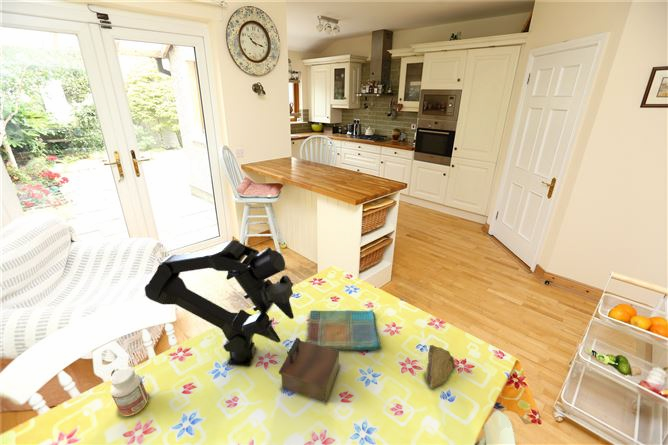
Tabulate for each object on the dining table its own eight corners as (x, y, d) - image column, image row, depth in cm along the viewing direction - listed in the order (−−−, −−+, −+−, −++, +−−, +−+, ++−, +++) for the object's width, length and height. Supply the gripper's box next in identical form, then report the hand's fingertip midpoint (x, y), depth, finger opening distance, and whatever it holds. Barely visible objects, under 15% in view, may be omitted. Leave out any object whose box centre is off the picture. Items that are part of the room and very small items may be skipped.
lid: (278, 373, 77) (277, 359, 75) (296, 341, 87) (295, 327, 85) (326, 388, 73) (326, 373, 71) (339, 352, 83) (339, 338, 81)
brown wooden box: (282, 388, 79) (281, 374, 77) (299, 355, 89) (299, 342, 87) (326, 402, 75) (326, 388, 73) (338, 366, 85) (339, 352, 83)
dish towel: (381, 352, 90) (382, 346, 89) (306, 351, 90) (306, 345, 89) (374, 313, 106) (374, 308, 105) (310, 313, 106) (310, 307, 105)
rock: (450, 349, 89) (419, 347, 88) (465, 346, 81) (432, 343, 80) (456, 390, 83) (423, 388, 82) (472, 391, 76) (436, 388, 75)
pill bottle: (128, 394, 76) (115, 364, 72) (152, 392, 77) (142, 362, 73) (114, 418, 71) (100, 387, 66) (140, 416, 71) (128, 385, 67)
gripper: (259, 296, 64) (296, 348, 68) (290, 256, 81) (319, 299, 84) (225, 310, 69) (262, 359, 72) (261, 269, 85) (290, 310, 89)
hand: (286, 329), depth 79 cm, fingers open, 9 cm apart
